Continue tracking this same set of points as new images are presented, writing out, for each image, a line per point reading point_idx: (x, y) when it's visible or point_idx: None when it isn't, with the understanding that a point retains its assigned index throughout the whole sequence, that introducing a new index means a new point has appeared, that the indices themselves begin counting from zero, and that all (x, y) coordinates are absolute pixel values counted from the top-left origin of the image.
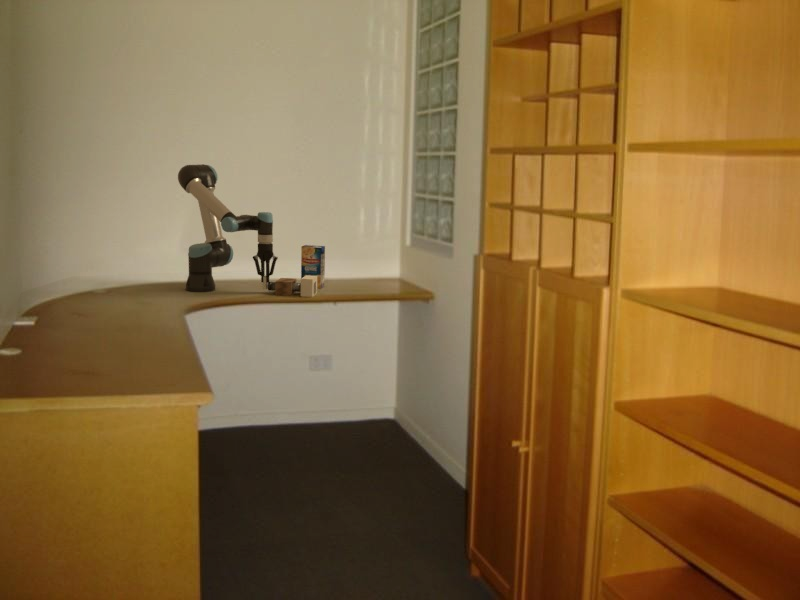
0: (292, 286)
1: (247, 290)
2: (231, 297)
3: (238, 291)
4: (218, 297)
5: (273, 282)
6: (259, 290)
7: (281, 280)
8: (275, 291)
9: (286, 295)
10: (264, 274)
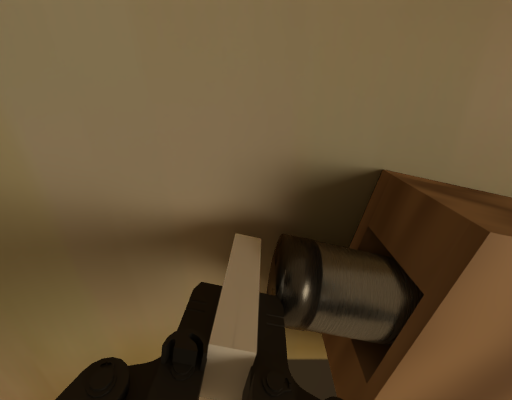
0: None
1: (78, 135)
2: (76, 370)
3: (27, 190)
4: (12, 370)
5: (329, 329)
6: (184, 127)
7: (428, 395)
8: (324, 342)
9: None
10: (202, 375)
